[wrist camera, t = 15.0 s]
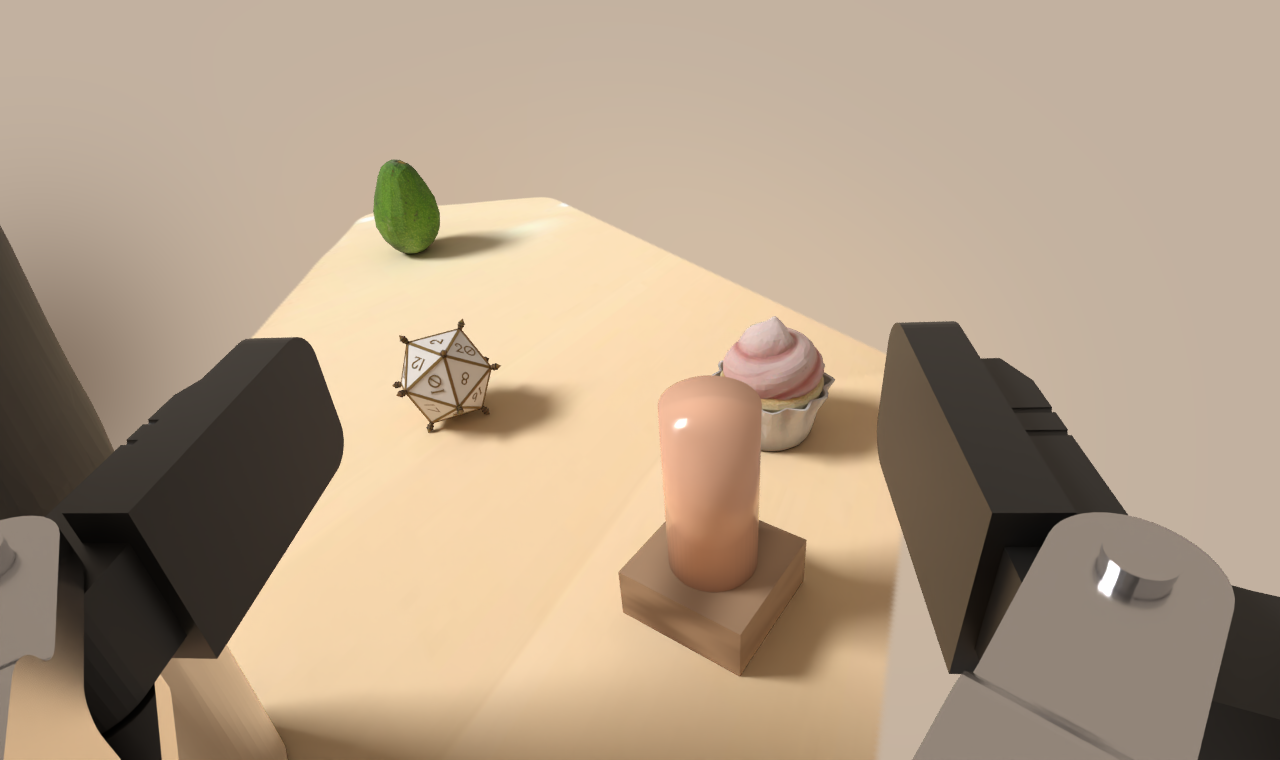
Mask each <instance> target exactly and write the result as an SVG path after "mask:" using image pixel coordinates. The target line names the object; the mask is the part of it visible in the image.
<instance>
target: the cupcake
mask: <svg viewBox="0 0 1280 760" xmlns="http://www.w3.org/2000/svg"><path fill="white" fill-rule="evenodd" d="M718 366H719V369H720V371H718V372H716V373H714V374H713V375H712V376H724V377H729V378H733V379H736V380H739V381H742V382H744V383H746V384H747V385H749V386H751V387H752V388H753V389H754V390H755V391H756V392H757V393H758V395H759V396H760V399H761V402H762V416H761V450H764V451H781V450H786V449H789V448H792V447H794V446H797V445H799V444H800V443H801V442H802V441H803V440H804V439H805V438H806V437H807V436H808V434H809V432H810V431H811V428H812V425H813V422H814V420H815V416H816V413H817V411H818V409H819V408H820V407H821V405H822V404H823V403H824V402H825V400H826V399H827V398H828V389H829V388H830V386H831V385H832V383H833V382H834V381H835V379H834V378H833V377H831V376H829V375H828V374H826V373H824V367H825V364H824V363H823V358H822V356H821V354H820V353H819V351H818V350H817V349H816V347H814V345H813V343H812V342H811V341H810V340H809V339H808V338H807V337H806V336H805V335H804V334H802V333H800V332H798V331H796V330H793V329H790V328H787V327H785V325H784V324H783V323H782V322H781V321H780V320H779V319H778V318H777V317H776V316H774V317H772V318H770V319H769V320H767V321H764V322H760V323H757V324H754V325H751V326H750V327H749V328H748V329H746V330H745V331H744V333H743V334H742V336H741V337H740V339H739V340H738V342H736V343H735V344H734V345H733V346H732V347H731V348H730V349H729V350H728V352H727V353H726V355H725V357H724V360H723V361H720V362H719V364H718Z"/></svg>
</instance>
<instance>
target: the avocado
mask: <svg viewBox="0 0 1280 760" xmlns="http://www.w3.org/2000/svg"><path fill="white" fill-rule="evenodd" d="M373 212H374V217H375V222H376V227H377V229H378V230H379V232H380V233H381V235H382V237H383V238H384V239H385V241H386V242H388V243H389V244H390V245H391V246H392V247H393V248H395V249H396V250H398V251H400V252H403V253H408V254H412V253H418V252H421V251H424V250H425V249H426V248H427V247H428V246H429V245H430V244H431V243H432V242H434V240H435V238H436V236H437V234H438V231H439V226H440V212H439V209H438V206H437V203H436V200H435V197H434V195H433V194H432V193H431V191H430V189H429V188H428V186H427V185H426V183H425V182H424V181H423V179H422V178H421V177H420V175H419V174H418V173H417V171H416V170H415V169H414V168H413V167H412V166H410V165H409V164H407V163H405V162H403V161H401V160H390V161H388V162H386V163H385V164H384V165H383V166H382V167H381V169H380V172H379V175H378V179H377V186H376V191H375V196H374V210H373Z"/></svg>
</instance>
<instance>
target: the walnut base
mask: <svg viewBox="0 0 1280 760" xmlns="http://www.w3.org/2000/svg"><path fill="white" fill-rule="evenodd" d="M805 552H806V540H805V539H803V538H801V537H798V536H796V535H793V534H791V533H789V532H786V531H784V530H781V529H779V528H777V527H774V526H772V525H769V524H767V523H765V522H762V521H760V520H759V530H758V563H757V567H756V570H755V572H754V573H753V575H752V576H751V577H750V579H749V580H747V581H746V582H745V583H744V584H742V585H741V586H739V587H737V588H734V589H731V590H728V591H723V592H705V591H700V590H696V589H693V588H691V587H689V586H687V585H685V584H684V583H682V582H681V581H680V580H679V579H678V578H677V577H676V576H675V575H674V574H673V572H672V570H671V568H670V565H669V560H668V546H667V532H666V522H665V523H664V524H663V525H662V526H661V527H660V528H659V529H658V530H657V531H656V532H655V533H654V534H653V536H652V537H651V538H650V539H649V540H648V541H647V542H646V543H645V544H644V545H643V546H642V547H641V548H640V550H639V551H638V552H637V553H636V554H635V555H634V556H633V557H632V558H631V559H630V560H629V561H628V562H627V564H626V565H625V566H624V567H623V568H622V569H621V570H620V571H619V580H620V588H621V597H622V605H623V612H624V613H626V614H628V615H629V616H631V617H633V618H635V619H637V620H639V621H640V622H642V623H644V624H646V625H648V626H649V627H651V628H653V629H655V630H657V631H658V632H660V633H662V634H664V635H666V636H668V637H669V638H671V639H673V640H675V641H677V642H678V643H680V644H682V645H684V646H686V647H688V648H689V649H691V650H693V651H695V652H697V653H698V654H700V655H702V656H704V657H706V658H707V659H709V660H711V661H713V662H715V663H717V664H718V665H720V666H722V667H724V668H726V669H727V670H729V671H731V672H733V673H735V674H737V675H738V676H740V675H741V674H742V672H743V671H744V669H745V668H746V666H747V665H748V663H749V662H750V660H751V659H752V657H753V656H754V654H755V652H756V651H757V649H758V648H759V646H760V645H761V643H762V642H763V640H764V639H765V637H766V636H767V634H768V633H769V631H770V630H771V628H772V627H773V625H774V624H775V622H776V621H777V619H778V618H779V616H780V615H781V613H782V612H783V610H784V609H785V607H786V606H787V604H788V603H789V601H790V600H791V598H792V597H793V595H794V594H795V592H796V591H797V589H798V587H799V586H800V584H801V583H802V581H803V577H804V564H805Z"/></svg>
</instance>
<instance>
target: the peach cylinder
mask: <svg viewBox="0 0 1280 760" xmlns="http://www.w3.org/2000/svg"><path fill="white" fill-rule="evenodd" d="M761 416H762V402H761V399H760V396H759V395H758V393H757V392H756V391H755V390H754V389H753V388H752V387H751V386H749V385H747V384H746V383H744V382H742V381H739V380H736V379H733V378H729V377H724V376H698V377H692V378H688V379H685V380H682V381H680V382H677V383H675V384H674V385H672V386H670V387H669V388H668V389H666V390H665V391H664V392H663V394H662V395H661V397H660V399H659V401H658V418H659V433H660V447H661V461H662V475H663V489H664V503H665V517H666V532H667V546H668V560H669V565H670V568H671V570H672V572H673V574H674V575H675V576H676V577H677V578H678V579H679V580H680V581H681V582H682V583H684V584H685V585H687V586H689V587H691V588H693V589H696V590H700V591H705V592H723V591H728V590H731V589H734V588H737V587H739V586H741V585H742V584H744V583H745V582H746V581H747V580H749V579H750V577H751V576H752V575H753V573H754V572H755V570H756V567H757V563H758V530H759V492H760V454H761Z"/></svg>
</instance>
